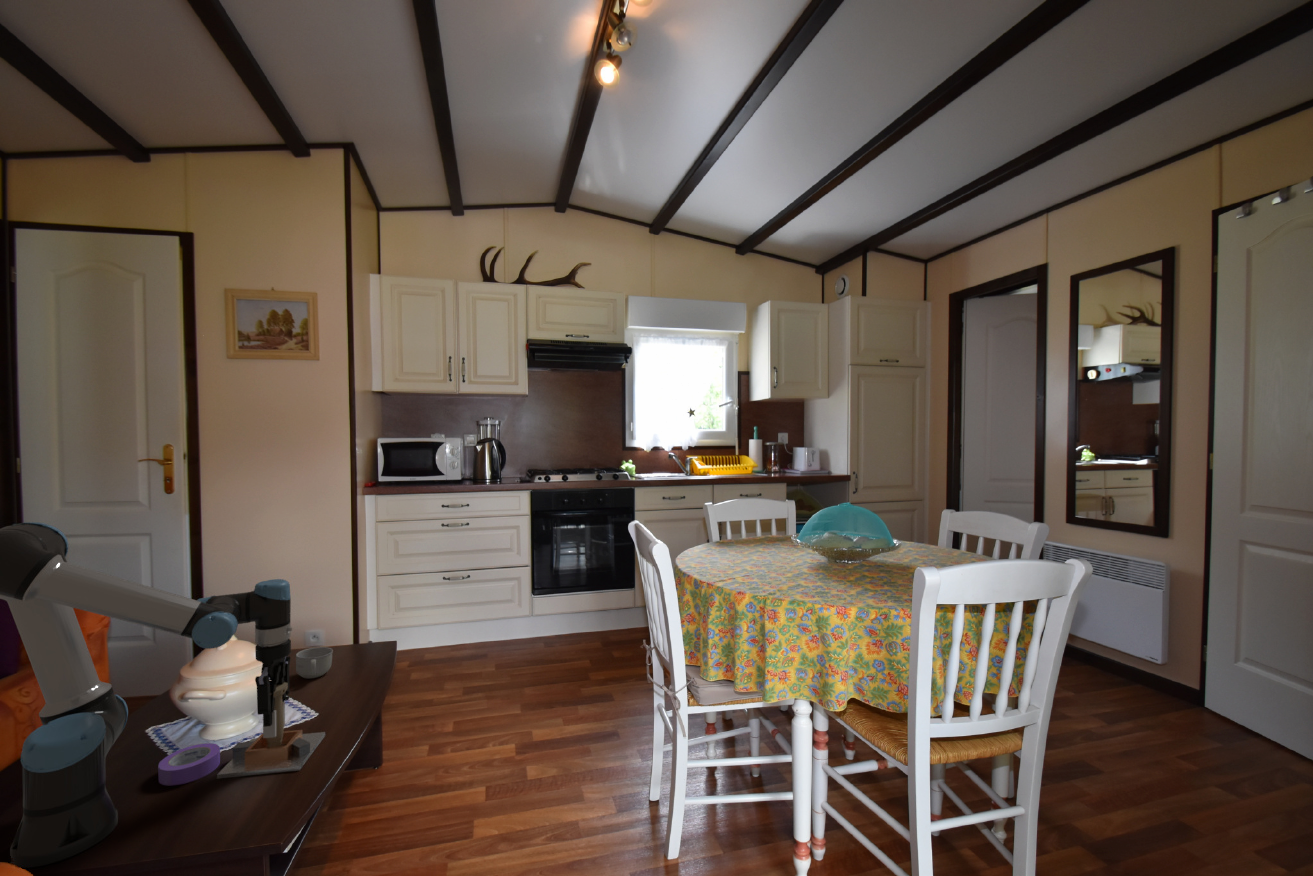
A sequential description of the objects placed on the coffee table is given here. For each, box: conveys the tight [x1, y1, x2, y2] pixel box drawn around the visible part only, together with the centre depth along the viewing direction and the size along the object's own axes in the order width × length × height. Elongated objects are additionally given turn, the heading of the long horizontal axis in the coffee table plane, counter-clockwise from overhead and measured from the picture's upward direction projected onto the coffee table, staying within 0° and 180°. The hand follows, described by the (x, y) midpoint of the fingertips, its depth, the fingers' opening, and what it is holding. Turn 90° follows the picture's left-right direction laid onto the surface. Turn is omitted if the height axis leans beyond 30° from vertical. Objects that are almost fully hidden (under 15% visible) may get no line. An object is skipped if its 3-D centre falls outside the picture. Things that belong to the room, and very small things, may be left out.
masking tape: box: [157, 742, 221, 787], centre depth 138 cm, size 12×12×4 cm
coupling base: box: [216, 729, 326, 780], centre depth 144 cm, size 18×16×4 cm
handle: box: [266, 682, 288, 748], centre depth 144 cm, size 5×6×15 cm
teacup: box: [295, 646, 334, 679], centre depth 191 cm, size 14×11×8 cm
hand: (274, 731), depth 144 cm, fingers closed on handle, 4 cm apart
